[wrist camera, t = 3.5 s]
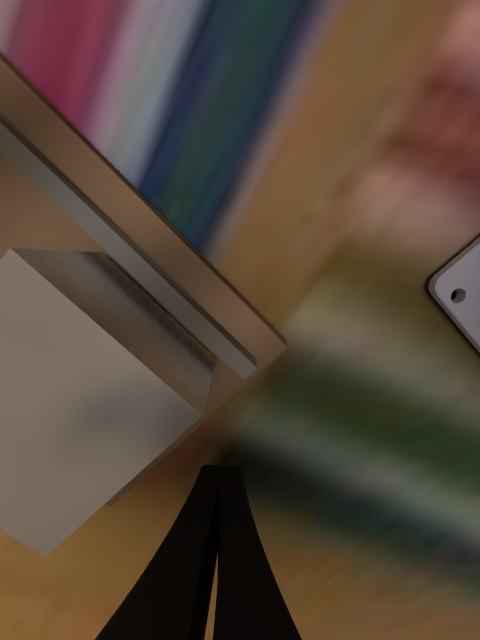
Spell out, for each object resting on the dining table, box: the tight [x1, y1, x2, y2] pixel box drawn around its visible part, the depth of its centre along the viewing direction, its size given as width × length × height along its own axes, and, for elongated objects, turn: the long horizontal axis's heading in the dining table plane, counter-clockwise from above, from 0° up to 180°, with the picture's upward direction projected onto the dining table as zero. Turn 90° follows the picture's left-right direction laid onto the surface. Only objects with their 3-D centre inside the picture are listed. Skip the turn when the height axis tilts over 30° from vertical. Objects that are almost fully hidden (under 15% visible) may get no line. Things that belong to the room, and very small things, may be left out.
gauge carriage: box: [0, 248, 217, 558], centre depth 7 cm, size 6×8×3 cm
